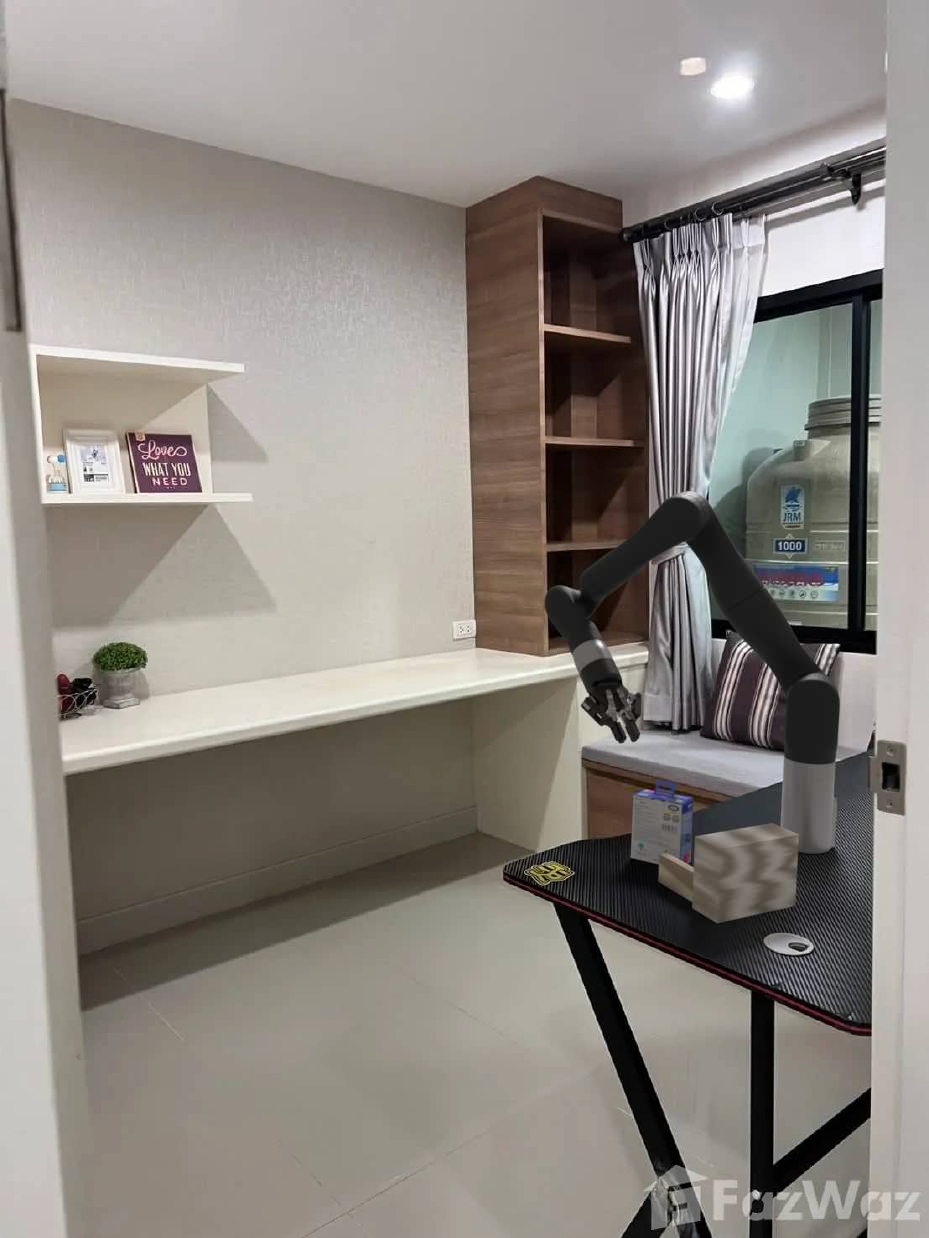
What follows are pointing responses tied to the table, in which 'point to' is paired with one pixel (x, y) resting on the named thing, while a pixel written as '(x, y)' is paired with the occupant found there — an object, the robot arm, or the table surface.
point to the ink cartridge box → (661, 824)
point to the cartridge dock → (737, 872)
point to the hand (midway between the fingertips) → (629, 740)
